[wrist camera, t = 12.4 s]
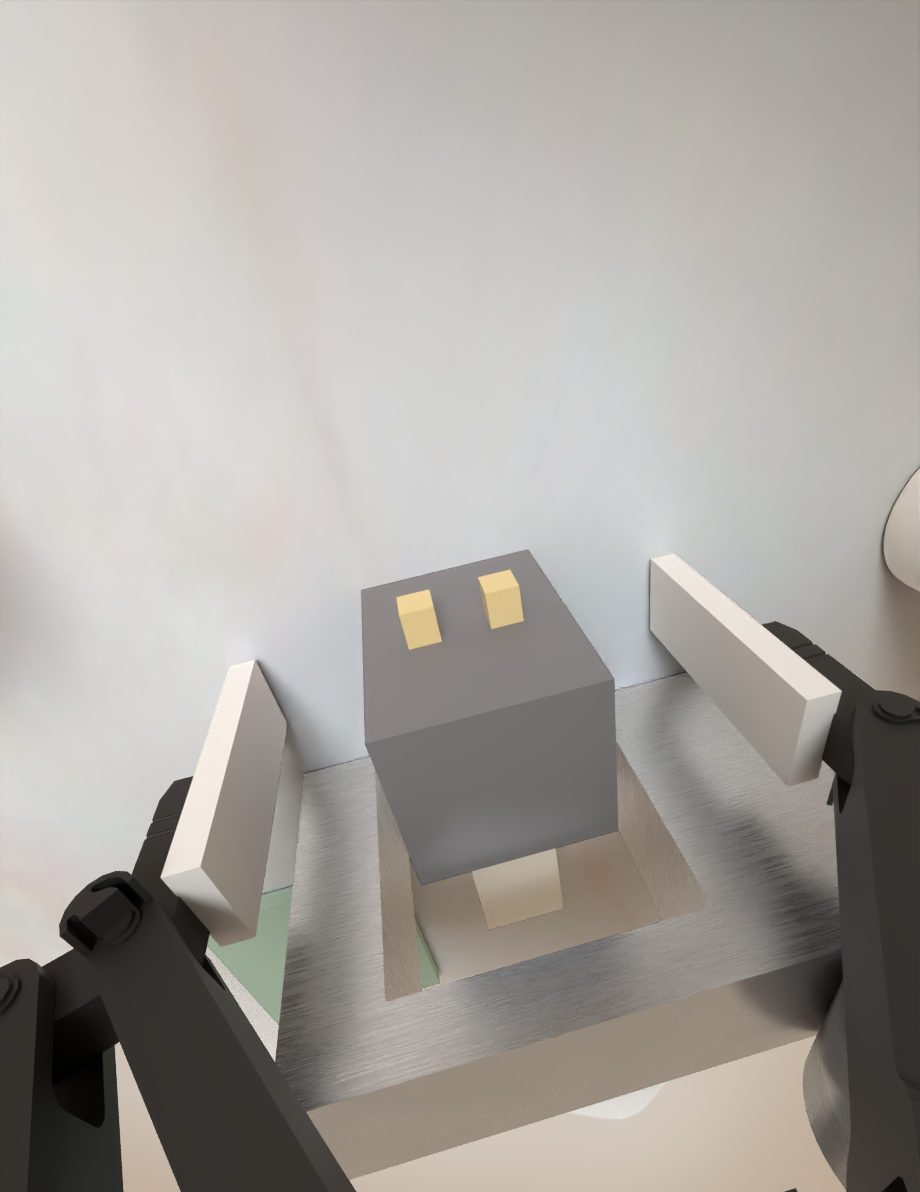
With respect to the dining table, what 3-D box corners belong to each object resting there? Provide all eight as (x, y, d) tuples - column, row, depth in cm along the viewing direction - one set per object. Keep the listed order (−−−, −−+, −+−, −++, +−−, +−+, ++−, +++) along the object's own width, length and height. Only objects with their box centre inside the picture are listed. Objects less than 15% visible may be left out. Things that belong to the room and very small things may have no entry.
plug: (351, 560, 15) (350, 705, 9) (524, 518, 15) (613, 638, 10) (450, 863, 22) (478, 1032, 17) (562, 832, 23) (622, 990, 18)
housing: (304, 773, 18) (229, 1512, 7) (747, 655, 19) (1281, 1154, 8) (346, 855, 21) (338, 1489, 10) (734, 748, 22) (1124, 1220, 11)
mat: (195, 913, 21) (191, 928, 21) (389, 859, 22) (390, 873, 21) (283, 1014, 26) (282, 1028, 26) (437, 969, 27) (439, 983, 26)
